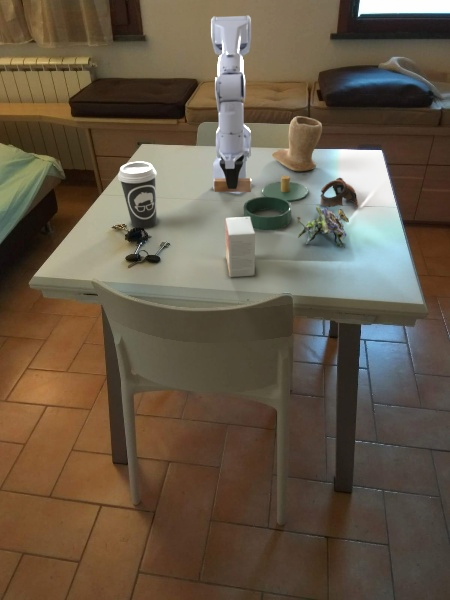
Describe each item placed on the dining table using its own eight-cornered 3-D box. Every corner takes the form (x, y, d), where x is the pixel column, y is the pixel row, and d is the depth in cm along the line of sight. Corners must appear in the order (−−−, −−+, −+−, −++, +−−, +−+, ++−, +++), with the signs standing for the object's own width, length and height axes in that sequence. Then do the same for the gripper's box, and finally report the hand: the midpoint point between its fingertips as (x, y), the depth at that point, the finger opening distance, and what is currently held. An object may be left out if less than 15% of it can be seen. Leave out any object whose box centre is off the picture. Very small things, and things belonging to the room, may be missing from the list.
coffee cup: (168, 216, 128) (162, 162, 119) (152, 233, 121) (145, 176, 112) (136, 212, 131) (128, 158, 122) (119, 228, 124) (109, 172, 115)
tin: (235, 225, 123) (234, 210, 121) (257, 206, 132) (257, 193, 129) (277, 235, 118) (278, 221, 116) (298, 216, 126) (299, 202, 124)
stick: (214, 191, 119) (214, 181, 117) (215, 188, 121) (214, 178, 119) (250, 192, 118) (250, 181, 117) (251, 188, 120) (251, 178, 118)
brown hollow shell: (362, 215, 126) (352, 193, 121) (328, 227, 130) (317, 206, 125) (357, 186, 134) (347, 164, 128) (325, 198, 138) (314, 177, 132)
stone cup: (325, 170, 151) (330, 121, 142) (292, 176, 148) (295, 127, 139) (301, 155, 163) (304, 109, 154) (270, 161, 159) (271, 114, 150)
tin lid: (254, 198, 136) (254, 181, 133) (274, 182, 145) (275, 165, 142) (296, 207, 130) (297, 189, 127) (314, 190, 139) (316, 173, 136)
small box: (226, 258, 110) (224, 217, 104) (250, 257, 110) (250, 215, 104) (229, 278, 104) (227, 234, 97) (254, 276, 104) (255, 233, 98)
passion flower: (335, 264, 117) (358, 242, 106) (293, 261, 115) (311, 238, 103) (331, 222, 120) (352, 197, 109) (290, 219, 118) (307, 193, 107)
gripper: (247, 140, 105) (247, 198, 113) (249, 121, 116) (249, 174, 124) (215, 140, 105) (217, 198, 113) (220, 121, 117) (222, 174, 125)
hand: (232, 186), depth 119 cm, fingers closed on stick, 2 cm apart
